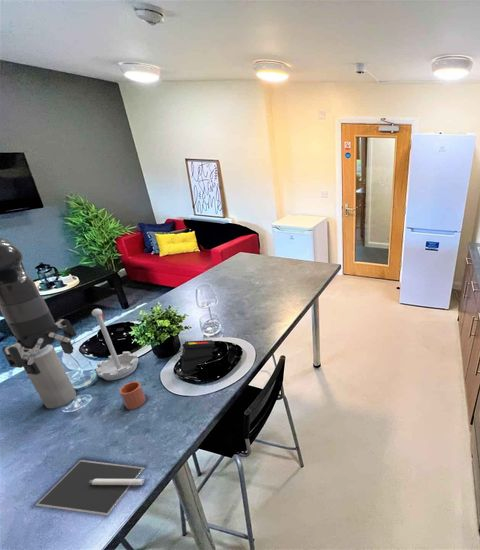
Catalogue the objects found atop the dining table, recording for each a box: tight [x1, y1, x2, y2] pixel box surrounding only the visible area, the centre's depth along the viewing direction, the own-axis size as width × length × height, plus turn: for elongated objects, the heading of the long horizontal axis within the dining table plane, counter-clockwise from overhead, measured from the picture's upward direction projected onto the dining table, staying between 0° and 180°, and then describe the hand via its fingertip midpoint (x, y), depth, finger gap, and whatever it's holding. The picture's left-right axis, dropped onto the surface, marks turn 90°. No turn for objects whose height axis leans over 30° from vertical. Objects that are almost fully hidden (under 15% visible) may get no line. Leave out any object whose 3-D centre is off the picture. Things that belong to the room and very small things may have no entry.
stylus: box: [89, 478, 145, 486], centre depth 79 cm, size 1×1×14 cm
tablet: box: [34, 459, 145, 516], centre depth 79 cm, size 12×20×1 cm, turn 85°
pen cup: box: [119, 381, 147, 410], centre depth 103 cm, size 6×6×8 cm
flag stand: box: [91, 308, 139, 381], centre depth 113 cm, size 13×13×30 cm
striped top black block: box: [179, 339, 216, 378], centre depth 120 cm, size 4×13×15 cm, turn 140°
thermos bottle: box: [19, 344, 77, 410], centre depth 99 cm, size 8×8×28 cm
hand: (53, 362), depth 81 cm, fingers open, 8 cm apart
